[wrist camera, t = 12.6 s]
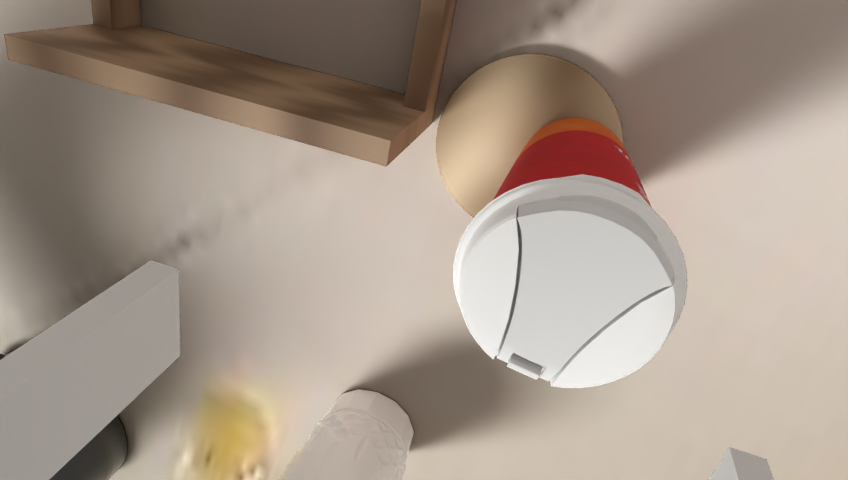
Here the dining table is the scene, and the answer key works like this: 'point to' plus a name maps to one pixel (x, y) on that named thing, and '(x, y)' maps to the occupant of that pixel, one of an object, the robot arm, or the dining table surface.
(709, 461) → the dining table surface
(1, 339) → the dining table surface
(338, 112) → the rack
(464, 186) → the mat
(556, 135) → the paper cup
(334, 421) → the white cup
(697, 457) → the dining table surface
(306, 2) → the dining table surface
